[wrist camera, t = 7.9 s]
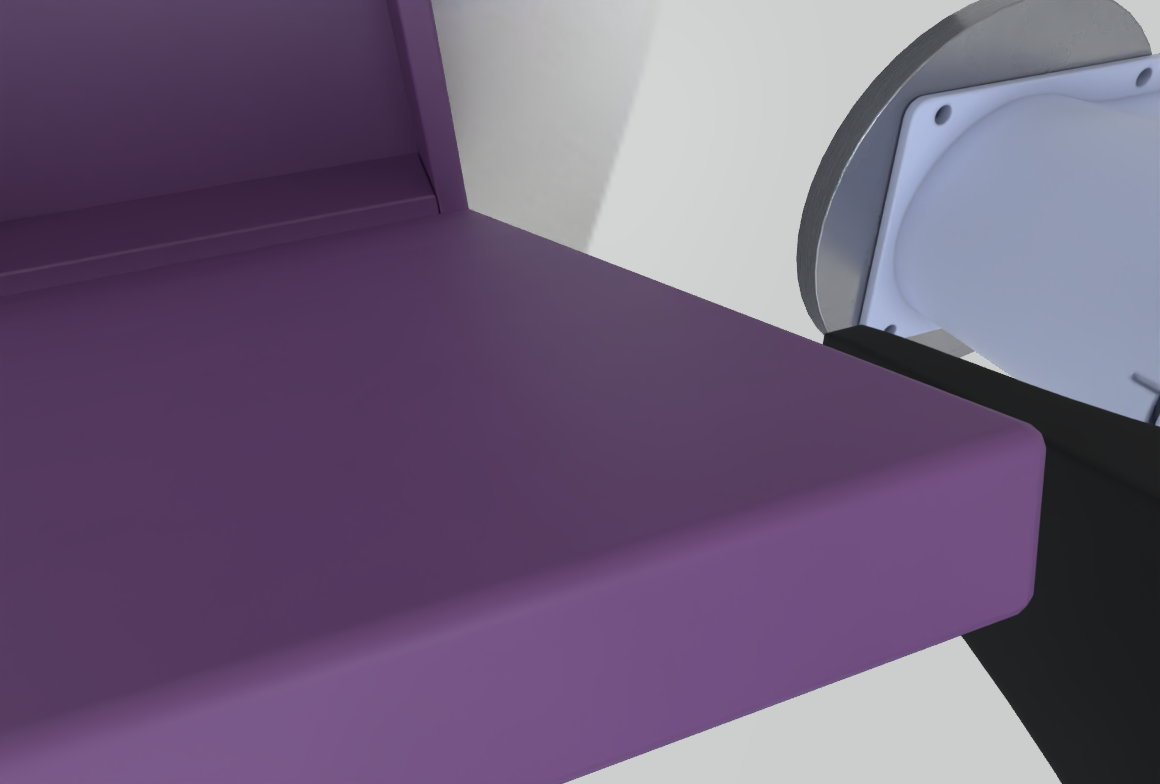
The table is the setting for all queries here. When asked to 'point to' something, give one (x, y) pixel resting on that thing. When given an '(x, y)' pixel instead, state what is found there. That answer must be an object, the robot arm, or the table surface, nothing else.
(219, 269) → the box cover
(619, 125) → the table surface
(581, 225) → the table surface
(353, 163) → the purple box
